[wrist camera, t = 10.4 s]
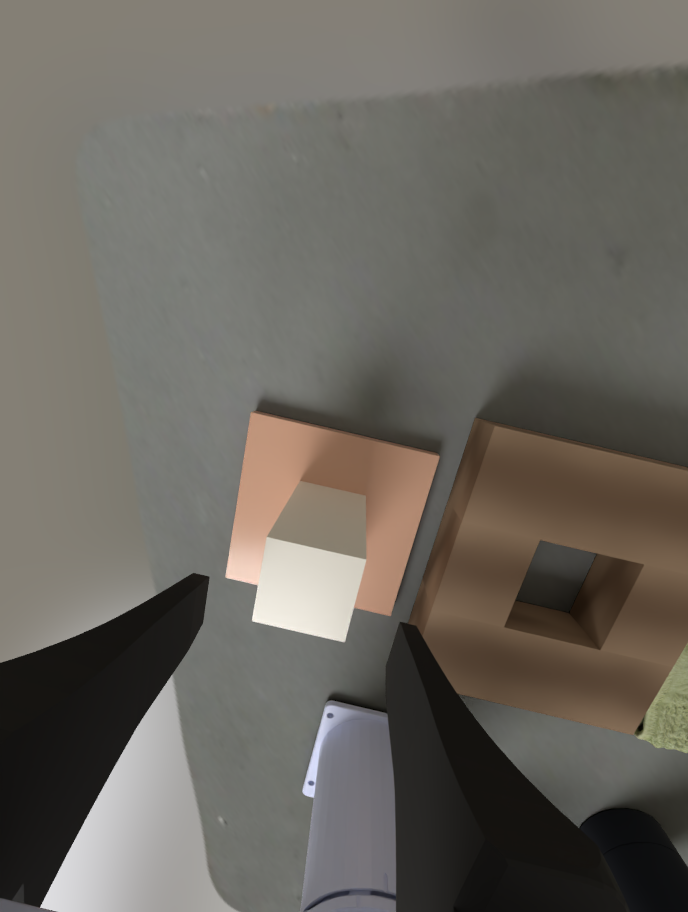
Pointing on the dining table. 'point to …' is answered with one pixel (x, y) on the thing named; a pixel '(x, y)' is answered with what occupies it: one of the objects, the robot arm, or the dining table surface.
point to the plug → (313, 562)
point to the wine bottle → (641, 860)
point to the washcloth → (669, 711)
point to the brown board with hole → (601, 596)
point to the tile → (340, 467)
